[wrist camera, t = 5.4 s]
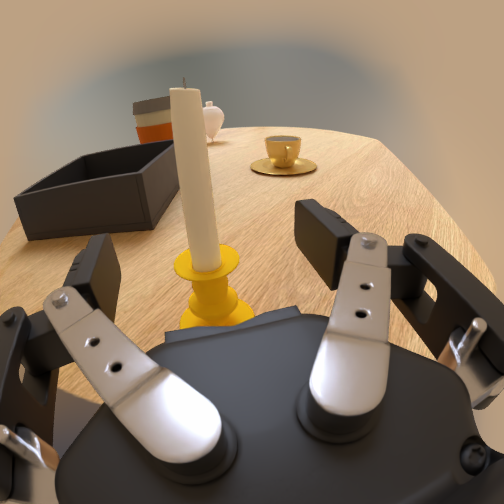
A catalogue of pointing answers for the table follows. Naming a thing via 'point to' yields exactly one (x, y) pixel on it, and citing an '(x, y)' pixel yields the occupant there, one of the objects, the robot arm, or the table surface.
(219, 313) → the candle
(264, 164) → the cup
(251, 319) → the robot arm
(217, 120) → the spinning top
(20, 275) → the table surface
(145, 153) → the bin
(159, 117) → the reusable coffee cup
